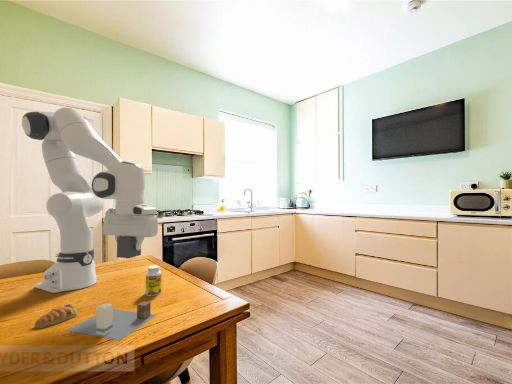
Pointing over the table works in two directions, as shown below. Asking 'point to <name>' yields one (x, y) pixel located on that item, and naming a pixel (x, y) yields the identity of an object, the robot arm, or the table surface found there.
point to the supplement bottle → (153, 281)
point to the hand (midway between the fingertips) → (129, 249)
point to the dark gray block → (127, 247)
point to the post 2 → (143, 310)
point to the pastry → (56, 316)
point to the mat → (121, 325)
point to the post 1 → (104, 319)
